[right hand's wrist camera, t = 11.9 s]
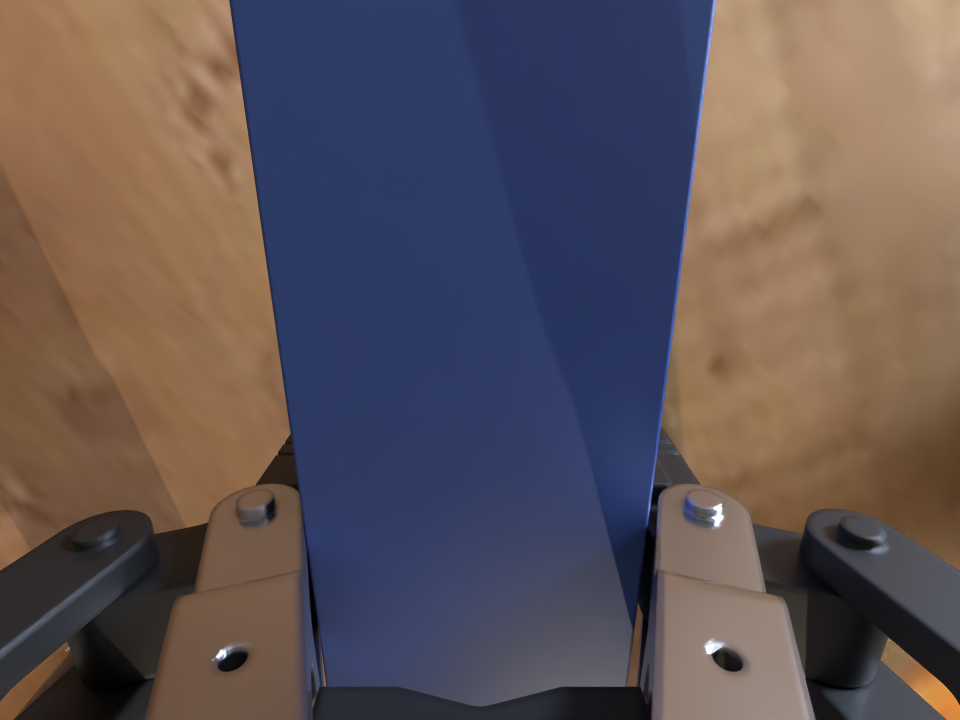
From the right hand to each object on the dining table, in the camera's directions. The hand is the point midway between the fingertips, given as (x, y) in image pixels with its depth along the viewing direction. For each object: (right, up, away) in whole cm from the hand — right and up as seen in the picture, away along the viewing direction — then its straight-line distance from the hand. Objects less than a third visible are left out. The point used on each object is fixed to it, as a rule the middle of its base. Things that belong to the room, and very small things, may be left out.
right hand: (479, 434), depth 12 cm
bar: (0, +10, 0) cm, 10 cm away
